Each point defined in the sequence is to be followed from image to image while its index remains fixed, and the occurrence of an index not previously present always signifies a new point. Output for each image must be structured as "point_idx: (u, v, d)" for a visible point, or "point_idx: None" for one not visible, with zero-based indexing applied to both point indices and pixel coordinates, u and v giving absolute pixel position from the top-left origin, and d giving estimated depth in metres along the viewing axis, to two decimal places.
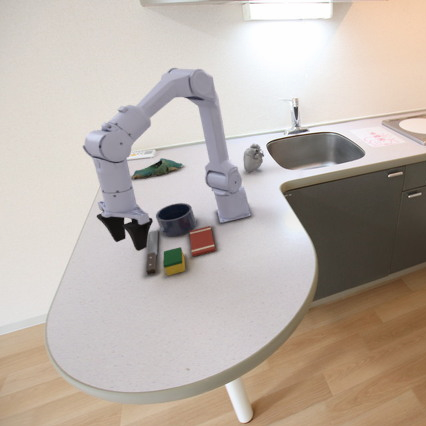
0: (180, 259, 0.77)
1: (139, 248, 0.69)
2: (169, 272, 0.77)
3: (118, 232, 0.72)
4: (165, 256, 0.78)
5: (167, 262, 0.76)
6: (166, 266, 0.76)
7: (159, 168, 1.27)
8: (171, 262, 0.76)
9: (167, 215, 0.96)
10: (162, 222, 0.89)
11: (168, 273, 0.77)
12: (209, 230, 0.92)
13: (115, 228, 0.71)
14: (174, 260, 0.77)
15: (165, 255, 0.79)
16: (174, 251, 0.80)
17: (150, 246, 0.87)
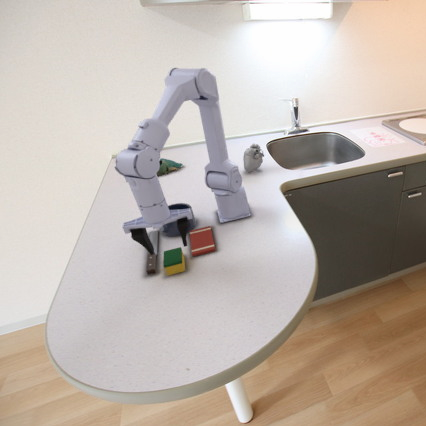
0: (180, 259, 0.77)
1: (186, 243, 0.78)
2: (169, 272, 0.77)
3: (150, 245, 0.75)
4: (165, 256, 0.78)
5: (167, 262, 0.76)
6: (166, 266, 0.76)
7: (159, 168, 1.27)
8: (171, 262, 0.76)
9: None
10: None
11: (168, 273, 0.77)
12: (209, 230, 0.92)
13: (147, 243, 0.74)
14: (174, 260, 0.77)
15: (165, 255, 0.79)
16: (174, 251, 0.80)
17: None
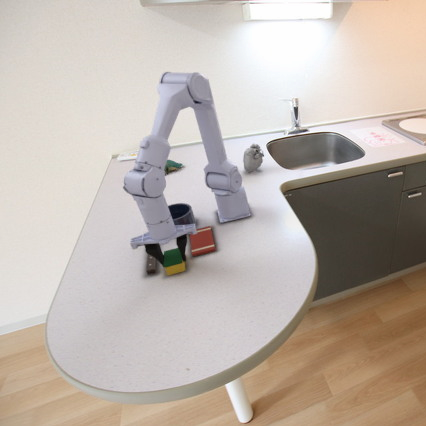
0: (180, 259, 0.77)
1: (185, 258, 0.80)
2: (169, 272, 0.77)
3: (163, 258, 0.78)
4: (165, 256, 0.78)
5: (167, 262, 0.76)
6: (166, 266, 0.76)
7: None
8: (171, 262, 0.76)
9: None
10: None
11: (168, 273, 0.77)
12: (209, 230, 0.92)
13: (160, 255, 0.77)
14: (174, 260, 0.77)
15: (165, 255, 0.79)
16: (174, 251, 0.80)
17: None
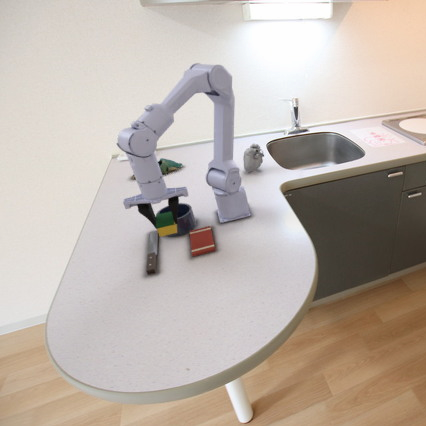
0: (172, 221, 0.80)
1: (177, 221, 0.82)
2: (162, 233, 0.80)
3: (155, 220, 0.80)
4: (158, 218, 0.81)
5: (159, 223, 0.79)
6: (158, 227, 0.79)
7: None
8: (163, 223, 0.79)
9: None
10: None
11: (160, 234, 0.80)
12: (209, 230, 0.92)
13: (153, 217, 0.79)
14: (166, 221, 0.80)
15: (158, 217, 0.81)
16: (167, 214, 0.83)
17: (150, 246, 0.87)
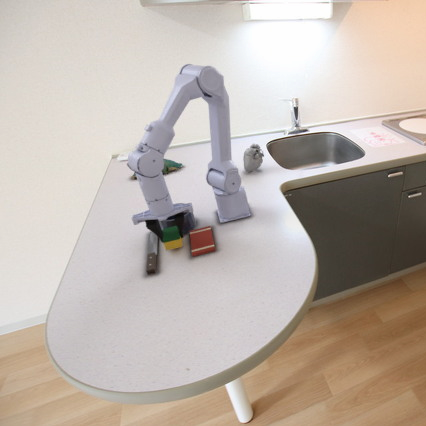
0: (178, 235, 0.84)
1: None
2: (168, 247, 0.84)
3: (162, 234, 0.84)
4: (164, 233, 0.85)
5: (166, 238, 0.83)
6: (165, 241, 0.82)
7: None
8: (170, 238, 0.83)
9: None
10: (162, 222, 0.89)
11: (167, 248, 0.84)
12: (209, 230, 0.92)
13: (159, 232, 0.83)
14: (172, 236, 0.84)
15: (164, 232, 0.85)
16: (173, 228, 0.87)
17: (150, 246, 0.87)
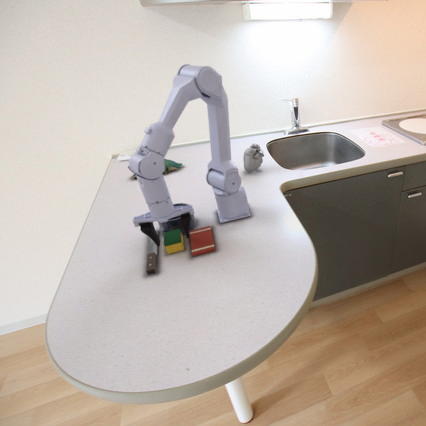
0: (179, 239, 0.84)
1: None
2: (169, 251, 0.84)
3: (157, 237, 0.84)
4: (165, 236, 0.86)
5: (167, 241, 0.84)
6: (166, 245, 0.83)
7: None
8: (171, 241, 0.84)
9: None
10: None
11: (168, 251, 0.84)
12: (209, 230, 0.92)
13: (154, 235, 0.83)
14: (174, 240, 0.84)
15: (165, 235, 0.86)
16: (174, 232, 0.87)
17: (150, 246, 0.87)
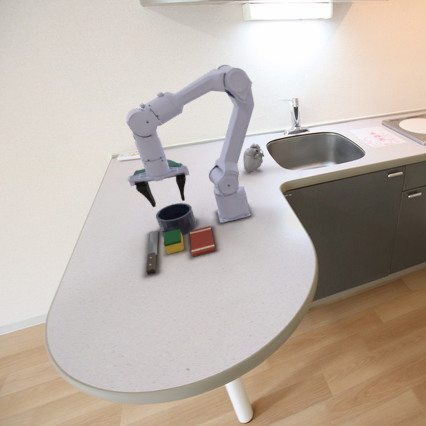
0: (179, 239, 0.84)
1: (184, 198, 0.88)
2: (169, 251, 0.84)
3: (153, 198, 0.85)
4: (165, 236, 0.86)
5: (167, 241, 0.84)
6: (166, 245, 0.83)
7: None
8: (171, 241, 0.84)
9: (167, 215, 0.96)
10: (162, 222, 0.89)
11: (168, 252, 0.84)
12: (209, 230, 0.92)
13: (150, 196, 0.84)
14: (174, 240, 0.84)
15: (165, 235, 0.86)
16: (174, 232, 0.87)
17: (150, 246, 0.87)
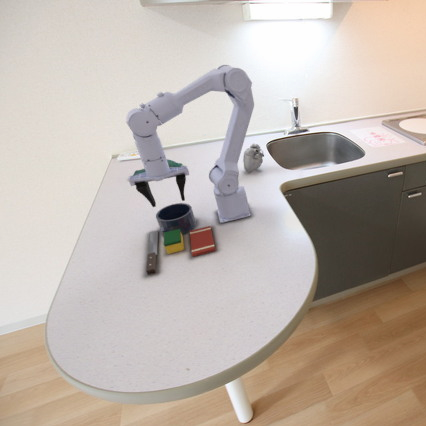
0: (179, 239, 0.84)
1: (184, 198, 0.88)
2: (169, 251, 0.84)
3: (153, 198, 0.85)
4: (165, 236, 0.86)
5: (167, 241, 0.84)
6: (166, 245, 0.83)
7: None
8: (171, 241, 0.84)
9: (167, 215, 0.96)
10: (162, 222, 0.89)
11: (168, 252, 0.84)
12: (209, 230, 0.92)
13: (150, 196, 0.84)
14: (174, 240, 0.84)
15: (165, 235, 0.86)
16: (174, 232, 0.87)
17: (150, 246, 0.87)
